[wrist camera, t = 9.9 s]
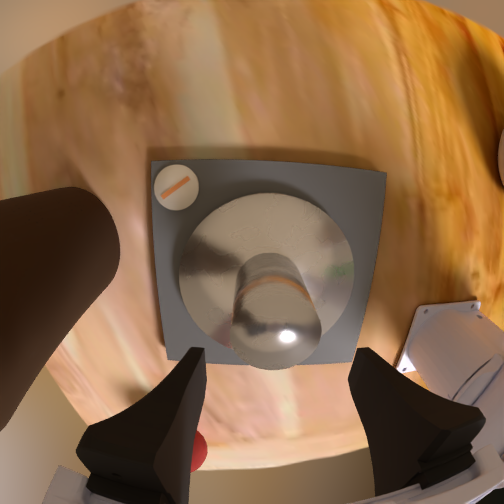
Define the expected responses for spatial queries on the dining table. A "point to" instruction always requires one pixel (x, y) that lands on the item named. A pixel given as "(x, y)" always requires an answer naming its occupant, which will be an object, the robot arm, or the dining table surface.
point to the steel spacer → (273, 314)
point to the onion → (198, 451)
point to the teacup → (501, 157)
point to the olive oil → (48, 278)
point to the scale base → (250, 182)
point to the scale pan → (257, 242)
